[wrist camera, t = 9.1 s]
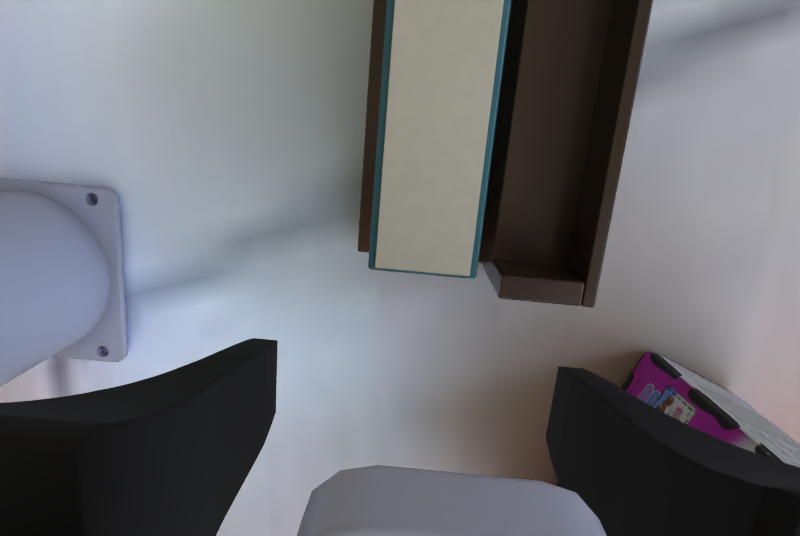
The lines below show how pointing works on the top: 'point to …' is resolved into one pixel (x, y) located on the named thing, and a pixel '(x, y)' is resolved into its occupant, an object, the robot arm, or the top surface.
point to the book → (436, 133)
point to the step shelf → (546, 143)
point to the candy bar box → (708, 408)
